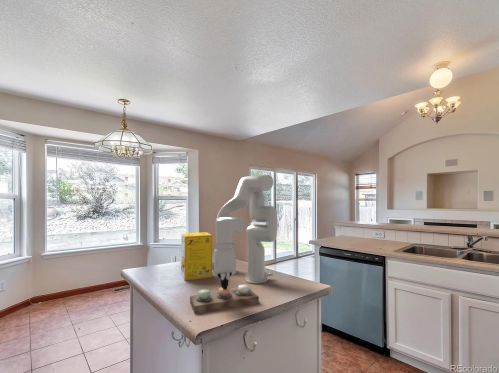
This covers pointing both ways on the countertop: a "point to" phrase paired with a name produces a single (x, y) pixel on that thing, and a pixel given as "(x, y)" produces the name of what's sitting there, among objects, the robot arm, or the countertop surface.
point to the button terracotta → (224, 291)
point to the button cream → (243, 288)
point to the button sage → (203, 294)
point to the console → (223, 301)
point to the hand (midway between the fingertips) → (224, 288)
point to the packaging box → (196, 255)
